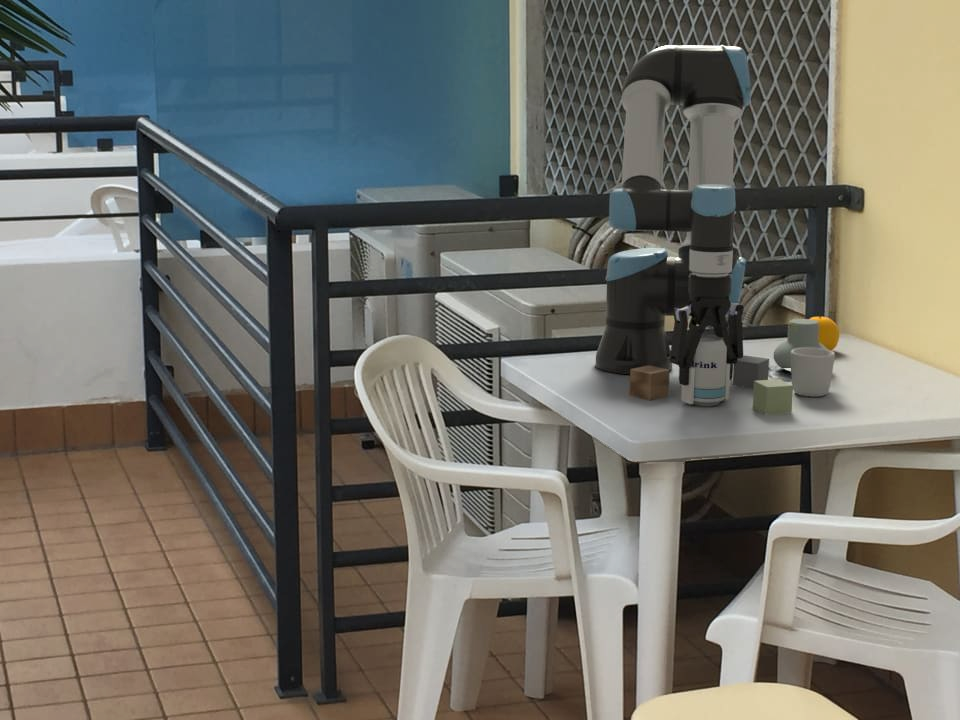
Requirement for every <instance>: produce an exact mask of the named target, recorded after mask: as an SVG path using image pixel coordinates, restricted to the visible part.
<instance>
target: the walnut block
mask: <svg viewBox="0 0 960 720" xmlns="http://www.w3.org/2000/svg"><path fill="white" fill-rule="evenodd" d="M629 375H630V377H629V378H630V379H629V396H631V397H635V398H638V399H643V400H646V401H654V400H657V399H663V398H667V397H669V392H670V370H667V369H663V368H659V367H655V366H650V365H648V366H643V367H638V368H634V369H630V374H629Z"/></svg>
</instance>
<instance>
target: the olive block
mask: <svg viewBox="0 0 960 720" xmlns="http://www.w3.org/2000/svg"><path fill="white" fill-rule="evenodd" d="M752 390H753V391H752V392H753V394H752V409H754V410H756V411H758V412H760V413H762V414H763V415H765V414H769V415H777V414H778V415H779V414H780V415H782V414H790V413H789V412H792V413H793V410H792V409H793V395H794V390H793V385H792V383H789V382H786V381H784V380H782V379H781V378H777V379H776V378H773V379H768V380H757V381H754V389H752ZM787 412H788V413H787ZM781 413H782V414H781Z"/></svg>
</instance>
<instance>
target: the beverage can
mask: <svg viewBox="0 0 960 720" xmlns="http://www.w3.org/2000/svg"><path fill="white" fill-rule="evenodd" d="M726 355H727V347H726V345H725V343H724V341H723V337H721V338H720V337H718V336H717V335H715V334H710V333H702V335H701V338H700V341H699V344H698V347H697V349H696V353H695V356H694V359H693V361H692V364H691V367H693V368H695V378H694V402H693V404H692V405H695V406H699V407H714V406H717V405H719V404H720V403H721V402H722V401H724V400H725V399H724V398H725V378H726Z"/></svg>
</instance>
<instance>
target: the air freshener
mask: <svg viewBox="0 0 960 720" xmlns="http://www.w3.org/2000/svg"><path fill="white" fill-rule="evenodd" d="M787 322H788V324H787V325H788V326H787V340H786V341H784V342H781V343H780V344H779V345H778V346H776V348H775V349H774V351H773V354H772V355H773V361H774V362H775V364H777V366H778V367H779V368H780V369H782V368H791V350H793V349H796V348H804V347H812V348H822V349H827V348H826V347H825V346H824V345H822V344H820V343H819V342H818V337H819V323H818V322H817V321H815V320H810V318H794V319H793V318H792V319H790V320H789V321H787ZM827 350H828V349H827Z"/></svg>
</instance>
